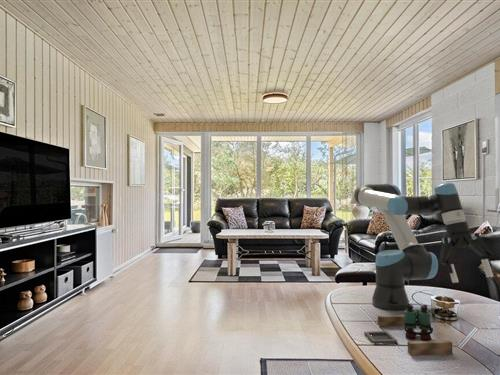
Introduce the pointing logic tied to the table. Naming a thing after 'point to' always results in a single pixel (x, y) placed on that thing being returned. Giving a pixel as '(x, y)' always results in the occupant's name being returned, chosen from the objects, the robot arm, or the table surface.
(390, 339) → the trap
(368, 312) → the table surface
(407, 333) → the binoculars
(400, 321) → the channel
